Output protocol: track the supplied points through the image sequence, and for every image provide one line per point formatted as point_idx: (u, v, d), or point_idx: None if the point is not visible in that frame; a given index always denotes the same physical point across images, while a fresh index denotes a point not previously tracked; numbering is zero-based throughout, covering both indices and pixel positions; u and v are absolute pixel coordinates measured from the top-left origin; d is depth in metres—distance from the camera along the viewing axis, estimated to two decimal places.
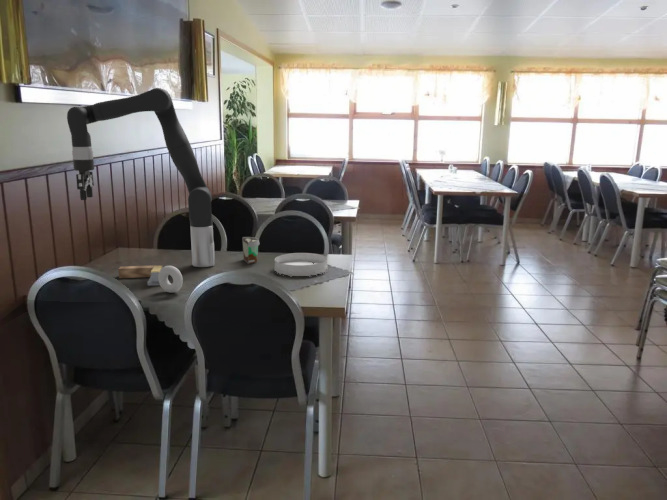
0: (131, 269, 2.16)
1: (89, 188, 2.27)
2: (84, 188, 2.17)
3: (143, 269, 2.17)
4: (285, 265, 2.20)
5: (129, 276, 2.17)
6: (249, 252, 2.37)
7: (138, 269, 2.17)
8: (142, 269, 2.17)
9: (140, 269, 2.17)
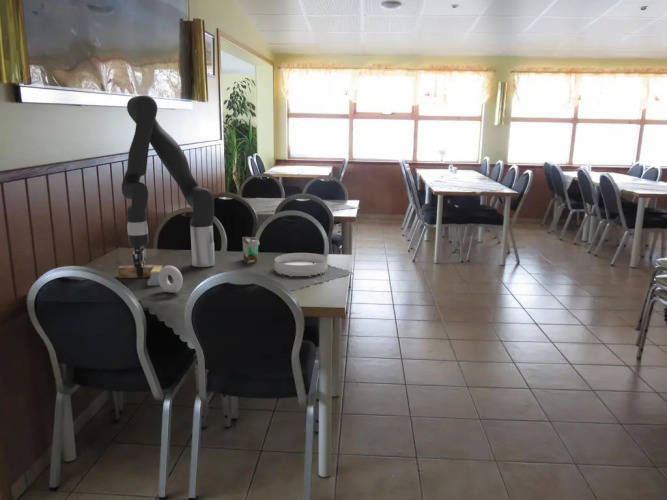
0: (131, 268, 2.16)
1: None
2: (141, 266, 2.14)
3: (143, 268, 2.17)
4: (285, 265, 2.20)
5: (129, 275, 2.17)
6: (249, 252, 2.37)
7: None
8: None
9: None
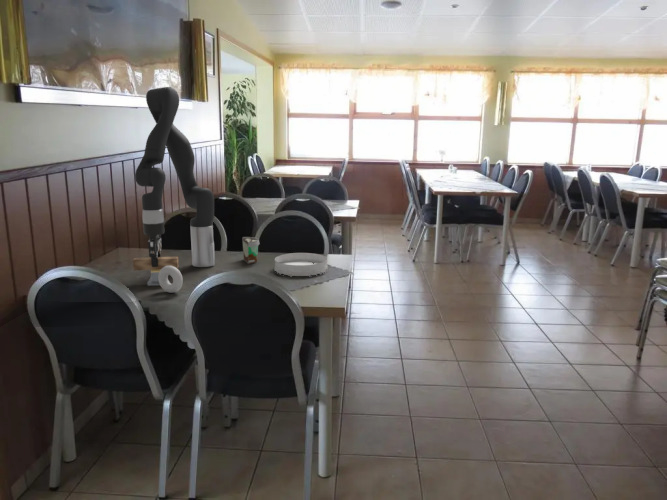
0: (146, 260, 2.07)
1: (157, 253, 2.11)
2: (156, 255, 2.03)
3: (159, 260, 2.07)
4: (285, 265, 2.20)
5: (144, 267, 2.07)
6: (249, 252, 2.37)
7: None
8: (158, 260, 2.07)
9: None
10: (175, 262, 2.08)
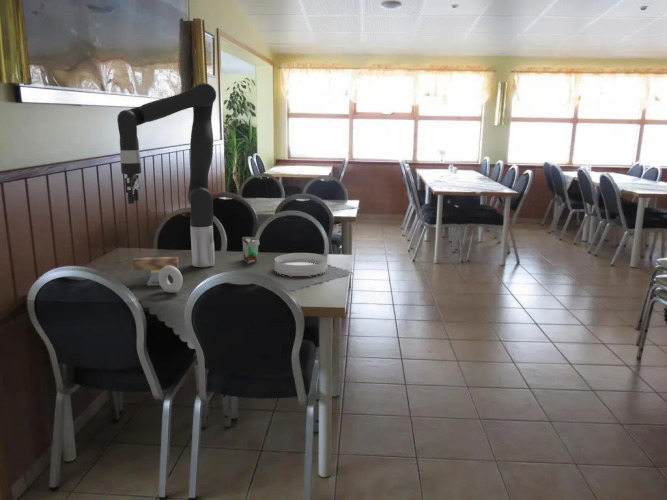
0: (146, 260, 2.07)
1: (135, 191, 2.26)
2: (132, 192, 2.16)
3: (159, 260, 2.07)
4: (285, 265, 2.20)
5: (144, 267, 2.07)
6: (249, 252, 2.37)
7: (153, 260, 2.07)
8: (158, 260, 2.07)
9: (155, 260, 2.07)
10: (175, 262, 2.08)
